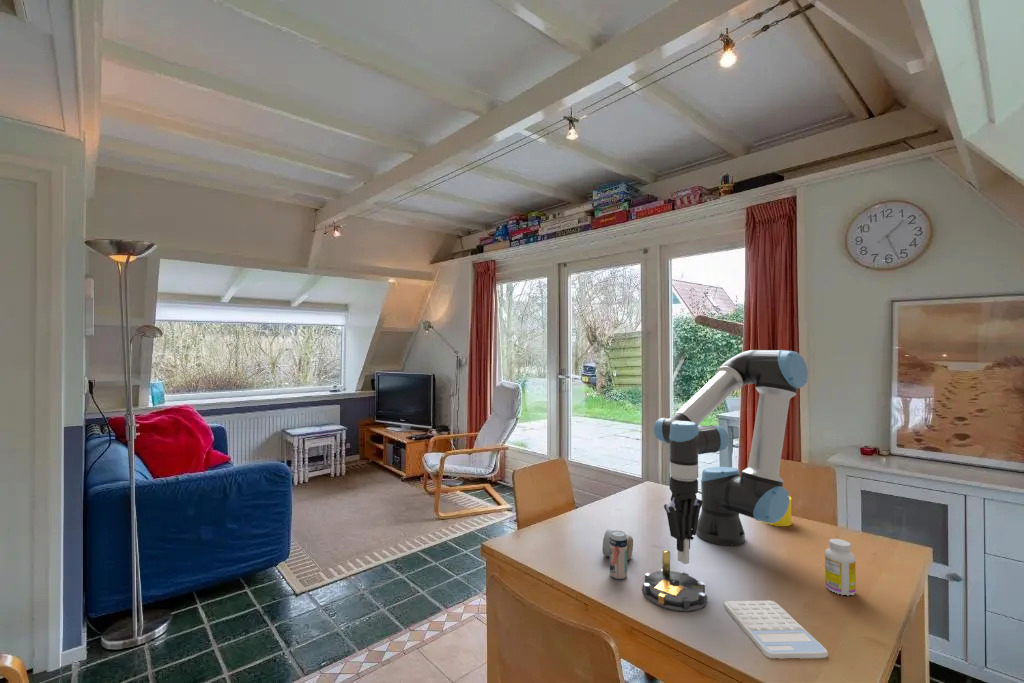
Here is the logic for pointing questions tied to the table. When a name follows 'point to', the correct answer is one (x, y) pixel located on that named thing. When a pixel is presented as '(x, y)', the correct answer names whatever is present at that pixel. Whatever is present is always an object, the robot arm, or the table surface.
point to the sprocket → (674, 586)
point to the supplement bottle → (840, 568)
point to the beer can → (618, 555)
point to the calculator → (774, 630)
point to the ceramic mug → (607, 544)
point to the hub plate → (674, 608)
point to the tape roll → (784, 517)
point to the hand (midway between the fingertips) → (683, 561)
